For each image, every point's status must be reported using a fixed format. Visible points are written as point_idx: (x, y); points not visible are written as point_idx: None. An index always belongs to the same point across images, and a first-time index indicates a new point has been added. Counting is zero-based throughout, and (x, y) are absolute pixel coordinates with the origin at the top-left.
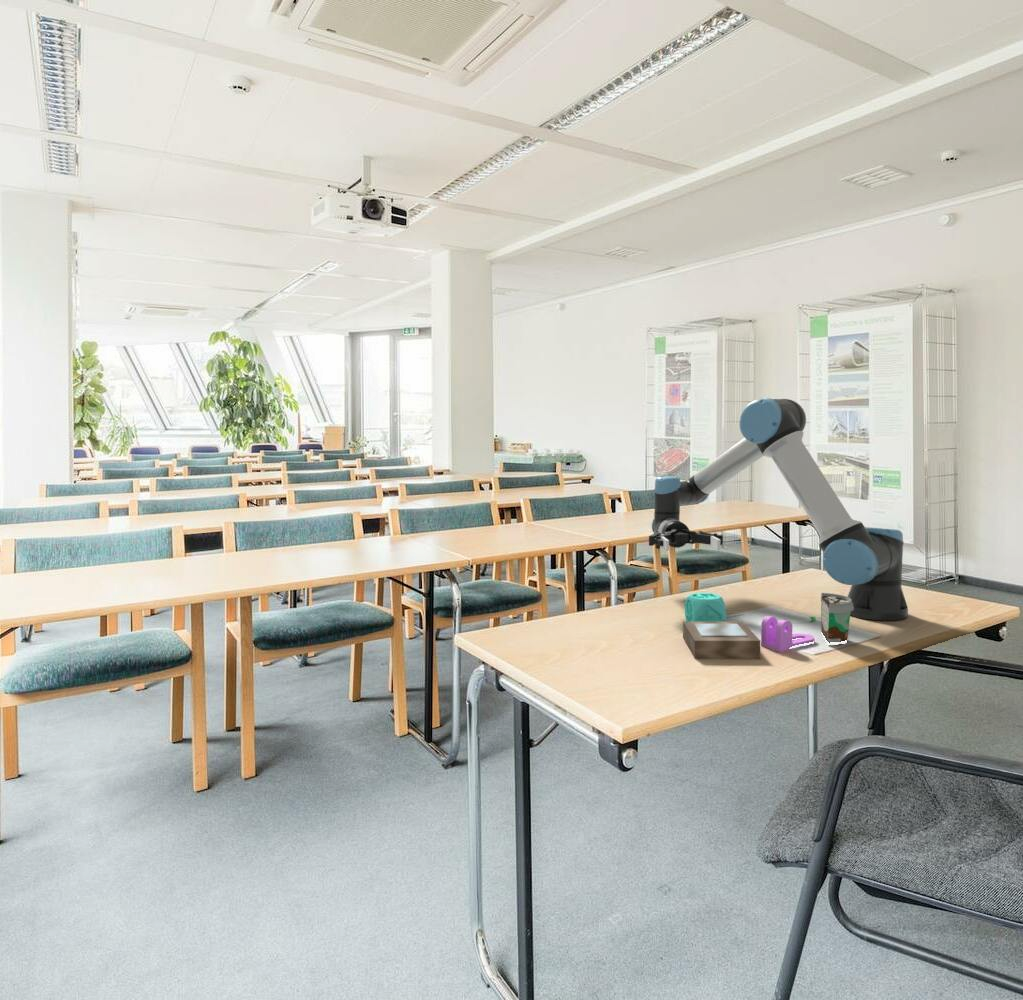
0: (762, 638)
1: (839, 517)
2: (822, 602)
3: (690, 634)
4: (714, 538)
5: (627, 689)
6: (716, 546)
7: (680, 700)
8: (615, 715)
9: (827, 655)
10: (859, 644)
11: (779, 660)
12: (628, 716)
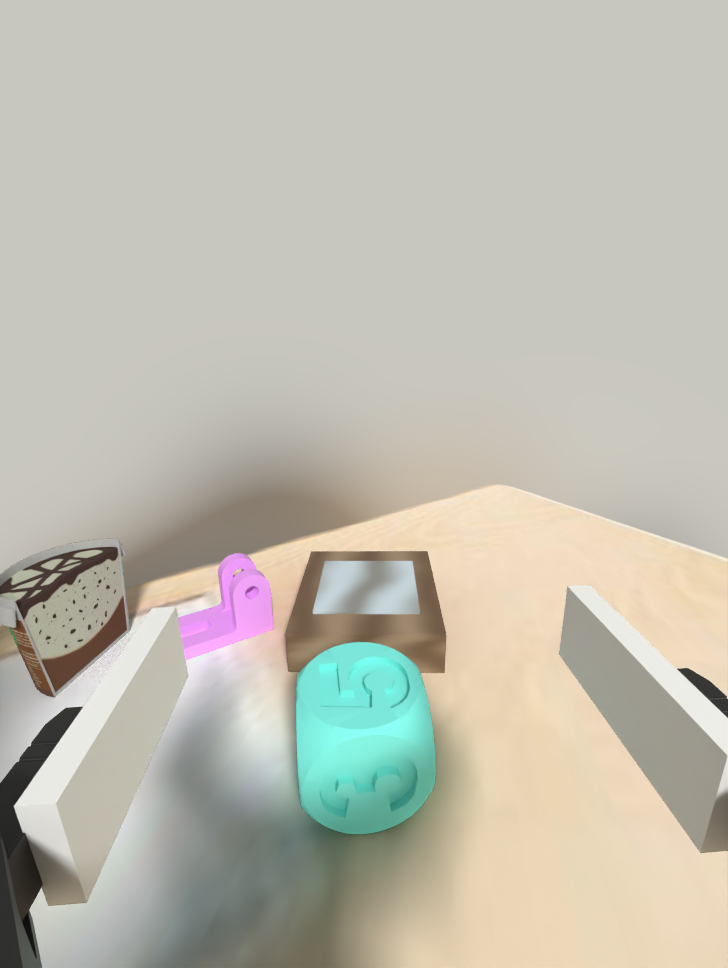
0: (271, 612)
1: None
2: (32, 615)
3: (432, 575)
4: (138, 672)
5: (514, 519)
6: (175, 676)
7: (451, 507)
8: (511, 492)
9: (183, 592)
10: None
11: (283, 577)
12: (499, 492)
